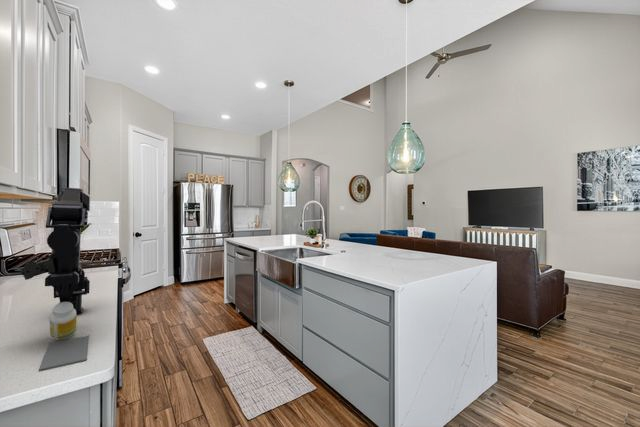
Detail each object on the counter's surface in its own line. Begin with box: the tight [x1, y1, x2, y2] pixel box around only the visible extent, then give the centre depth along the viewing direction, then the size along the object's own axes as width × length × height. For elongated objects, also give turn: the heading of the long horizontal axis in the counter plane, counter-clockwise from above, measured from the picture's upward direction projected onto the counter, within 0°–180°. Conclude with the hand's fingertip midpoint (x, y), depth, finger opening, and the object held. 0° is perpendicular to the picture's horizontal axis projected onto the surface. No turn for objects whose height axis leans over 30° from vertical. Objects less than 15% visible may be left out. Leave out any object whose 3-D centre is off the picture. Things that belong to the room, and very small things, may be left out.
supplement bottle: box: [48, 302, 77, 341], centre depth 77 cm, size 5×5×10 cm
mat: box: [38, 335, 90, 372], centre depth 70 cm, size 16×8×1 cm, turn 38°
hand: (64, 306), depth 78 cm, fingers closed
